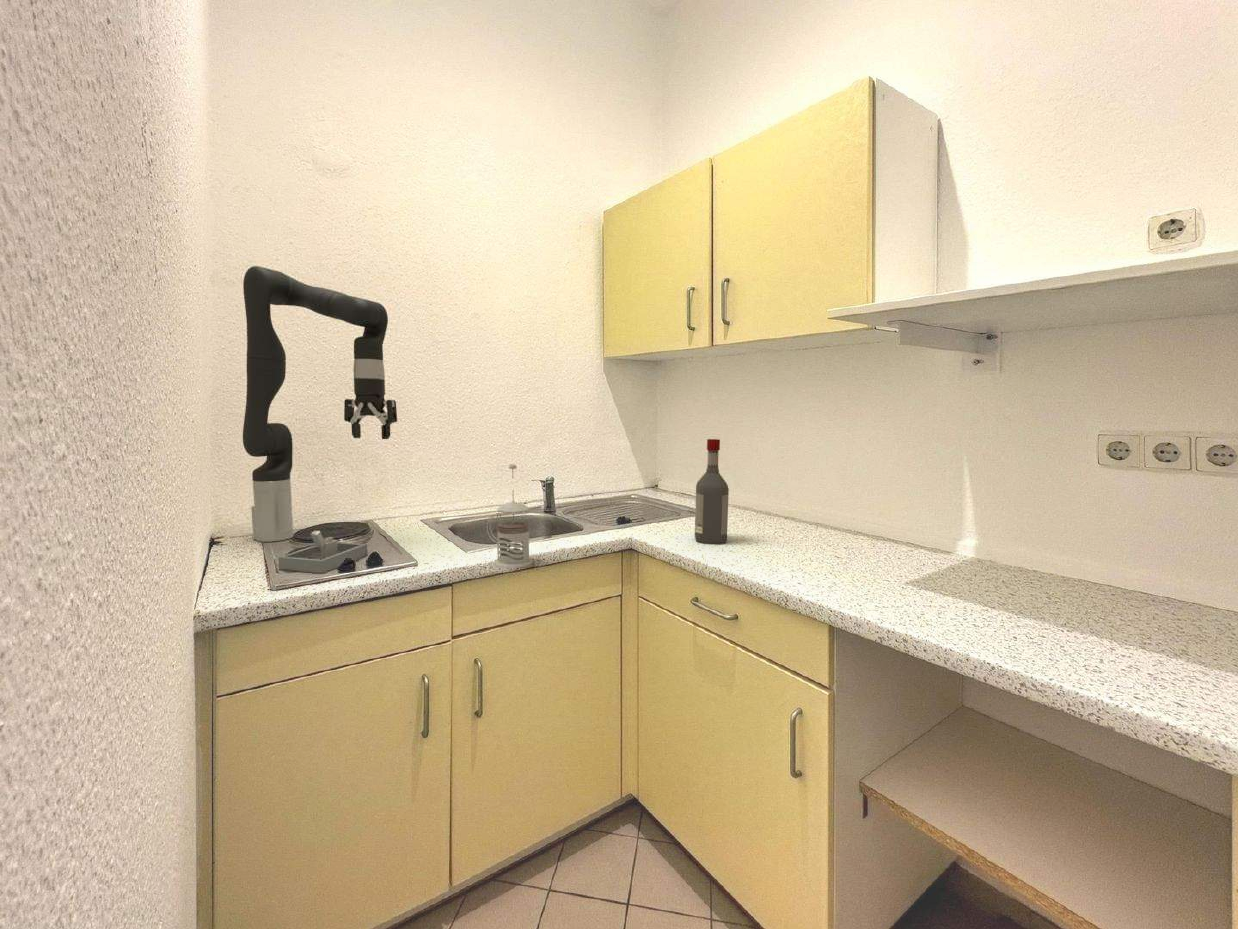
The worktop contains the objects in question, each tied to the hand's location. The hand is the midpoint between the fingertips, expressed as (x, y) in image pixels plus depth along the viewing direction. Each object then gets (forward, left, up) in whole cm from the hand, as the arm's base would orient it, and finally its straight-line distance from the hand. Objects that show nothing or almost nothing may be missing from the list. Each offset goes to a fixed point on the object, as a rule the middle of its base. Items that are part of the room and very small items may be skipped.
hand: (371, 438), depth 151 cm
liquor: (+89, +33, -30) cm, 99 cm away
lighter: (-3, -15, -30) cm, 33 cm away
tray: (-3, -15, -30) cm, 34 cm away
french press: (+41, -3, -30) cm, 51 cm away
